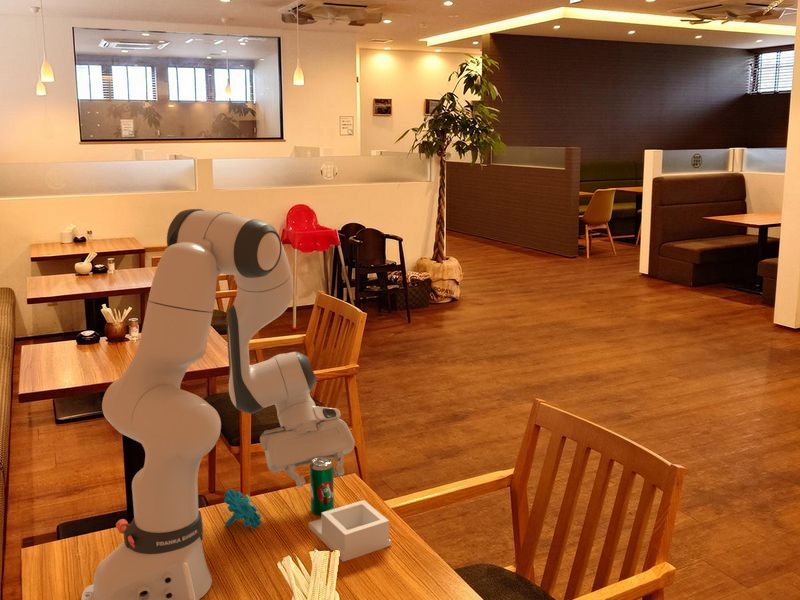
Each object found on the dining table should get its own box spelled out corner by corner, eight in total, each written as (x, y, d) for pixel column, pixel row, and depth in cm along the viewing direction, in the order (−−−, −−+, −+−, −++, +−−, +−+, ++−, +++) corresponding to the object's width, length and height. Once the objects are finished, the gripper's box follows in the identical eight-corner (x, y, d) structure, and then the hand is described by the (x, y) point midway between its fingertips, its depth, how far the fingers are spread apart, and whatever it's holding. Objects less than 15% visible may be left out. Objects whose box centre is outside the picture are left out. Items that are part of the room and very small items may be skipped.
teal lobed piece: (258, 531, 157) (223, 497, 156) (238, 550, 157) (203, 517, 157) (268, 511, 168) (235, 479, 167) (249, 529, 168) (216, 497, 168)
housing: (343, 561, 149) (342, 535, 148) (308, 527, 162) (308, 502, 160) (391, 545, 155) (391, 520, 154) (354, 513, 167) (354, 489, 166)
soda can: (313, 505, 171) (313, 455, 168) (336, 506, 170) (335, 456, 167) (308, 516, 166) (307, 465, 163) (331, 518, 165) (330, 467, 163)
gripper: (261, 426, 164) (281, 486, 159) (345, 407, 175) (366, 463, 169) (253, 438, 169) (273, 497, 163) (335, 419, 180) (356, 474, 174)
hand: (321, 479), depth 167 cm, fingers open, 8 cm apart
